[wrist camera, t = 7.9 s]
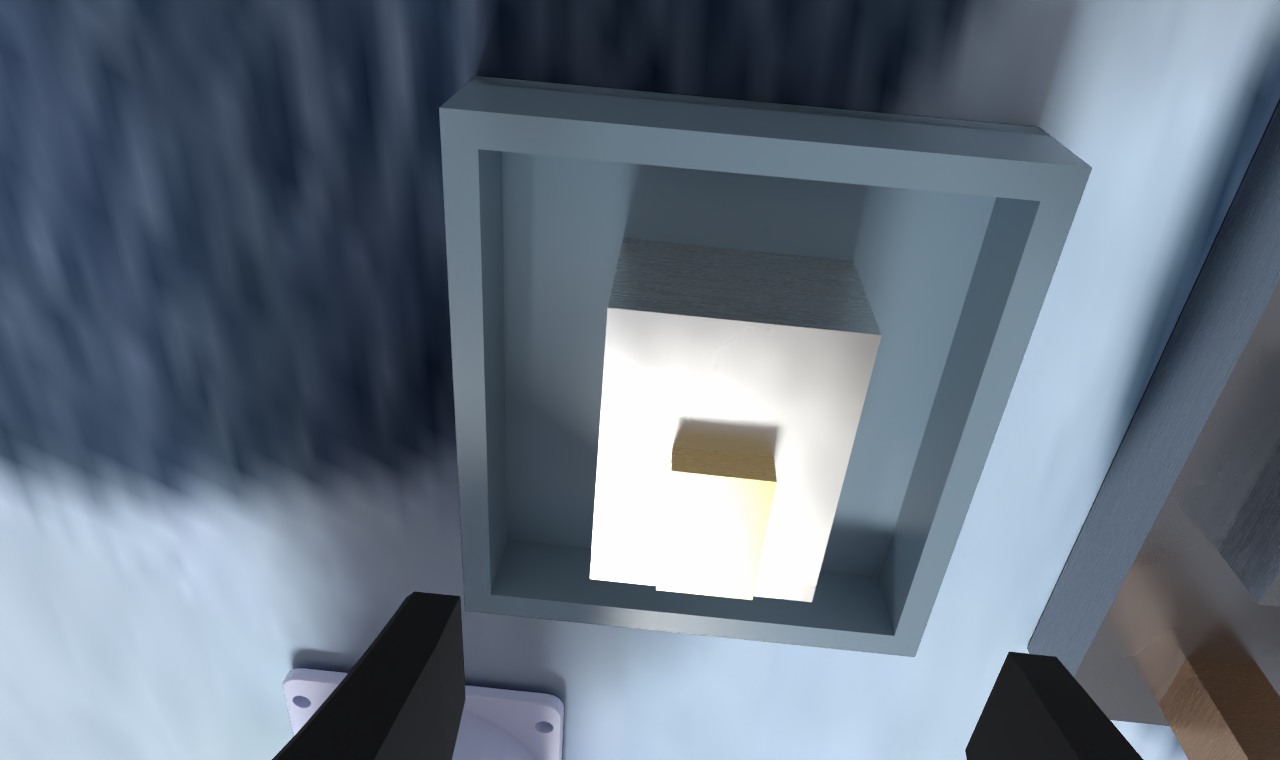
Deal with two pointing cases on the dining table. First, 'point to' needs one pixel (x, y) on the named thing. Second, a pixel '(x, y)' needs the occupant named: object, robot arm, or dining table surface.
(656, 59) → the dining table surface
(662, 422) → the white yellow block
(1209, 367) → the hand plane
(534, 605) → the tray
